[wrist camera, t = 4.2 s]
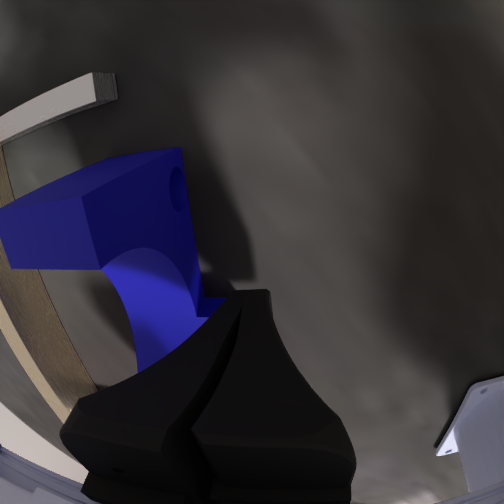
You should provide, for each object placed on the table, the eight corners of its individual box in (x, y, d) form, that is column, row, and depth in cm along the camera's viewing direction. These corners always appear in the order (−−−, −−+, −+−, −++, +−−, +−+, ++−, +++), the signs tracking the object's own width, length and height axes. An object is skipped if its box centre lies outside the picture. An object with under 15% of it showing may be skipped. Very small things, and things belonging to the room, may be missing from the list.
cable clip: (254, 391, 16) (237, 495, 10) (172, 385, 16) (136, 477, 11) (224, 141, 10) (152, 187, 5) (109, 157, 11) (-8, 212, 6)
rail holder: (114, 73, 9) (63, 71, 7) (208, 421, 17) (197, 463, 14) (-18, 134, 11) (-62, 149, 8) (92, 404, 18) (74, 436, 16)
